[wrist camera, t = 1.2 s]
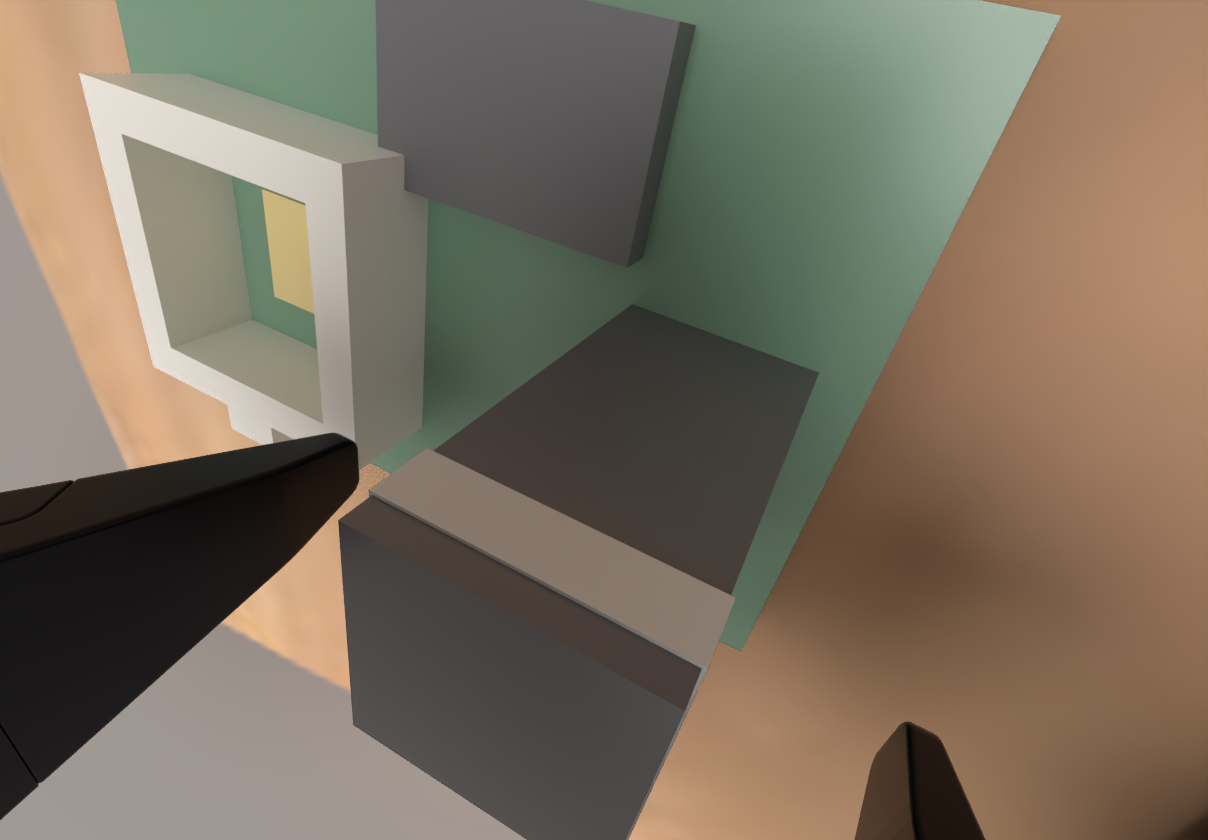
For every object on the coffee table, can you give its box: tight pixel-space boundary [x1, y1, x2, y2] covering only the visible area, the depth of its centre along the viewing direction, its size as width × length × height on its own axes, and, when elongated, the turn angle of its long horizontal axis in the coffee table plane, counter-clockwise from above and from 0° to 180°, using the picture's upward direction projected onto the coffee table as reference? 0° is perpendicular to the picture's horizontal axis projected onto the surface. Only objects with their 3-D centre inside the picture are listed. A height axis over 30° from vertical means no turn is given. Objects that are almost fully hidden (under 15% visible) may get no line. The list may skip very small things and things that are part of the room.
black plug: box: [338, 304, 819, 840], centre depth 10 cm, size 4×4×8 cm
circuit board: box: [79, 0, 1061, 651], centre depth 14 cm, size 20×14×4 cm
